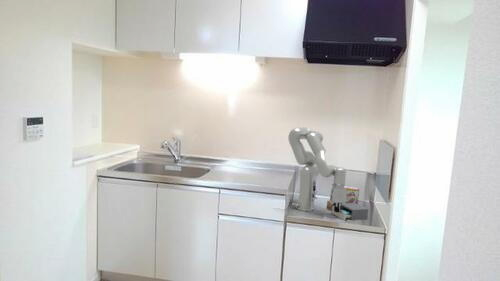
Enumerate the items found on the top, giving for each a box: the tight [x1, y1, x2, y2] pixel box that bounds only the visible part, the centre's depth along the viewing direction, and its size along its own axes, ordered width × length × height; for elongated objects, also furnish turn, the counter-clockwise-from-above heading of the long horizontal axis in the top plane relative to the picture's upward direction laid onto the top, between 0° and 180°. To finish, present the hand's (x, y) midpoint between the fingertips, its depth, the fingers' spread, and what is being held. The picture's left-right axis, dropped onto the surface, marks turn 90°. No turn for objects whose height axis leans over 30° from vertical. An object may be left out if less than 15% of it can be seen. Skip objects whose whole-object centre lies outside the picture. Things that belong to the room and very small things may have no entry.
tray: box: [331, 206, 352, 221], centre depth 227 cm, size 14×14×5 cm
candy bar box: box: [344, 185, 360, 204], centre depth 245 cm, size 11×5×16 cm, turn 77°
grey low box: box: [339, 203, 369, 221], centre depth 230 cm, size 13×14×7 cm
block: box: [326, 200, 334, 212], centre depth 241 cm, size 5×5×6 cm
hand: (336, 211), depth 224 cm, fingers closed
